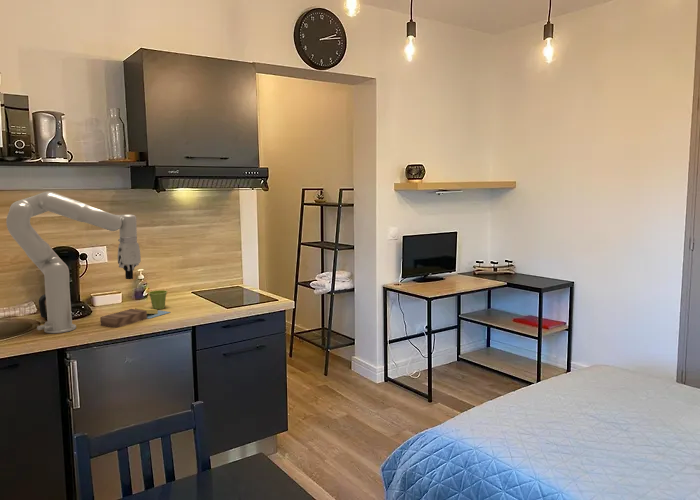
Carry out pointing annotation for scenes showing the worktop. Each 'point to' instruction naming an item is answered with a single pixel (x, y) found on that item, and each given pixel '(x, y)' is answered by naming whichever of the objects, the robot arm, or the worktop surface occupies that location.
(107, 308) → the worktop surface
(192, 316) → the worktop surface
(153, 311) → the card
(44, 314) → the milk frother
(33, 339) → the worktop surface
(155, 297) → the plant pot
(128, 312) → the brown flat block
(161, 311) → the mat
